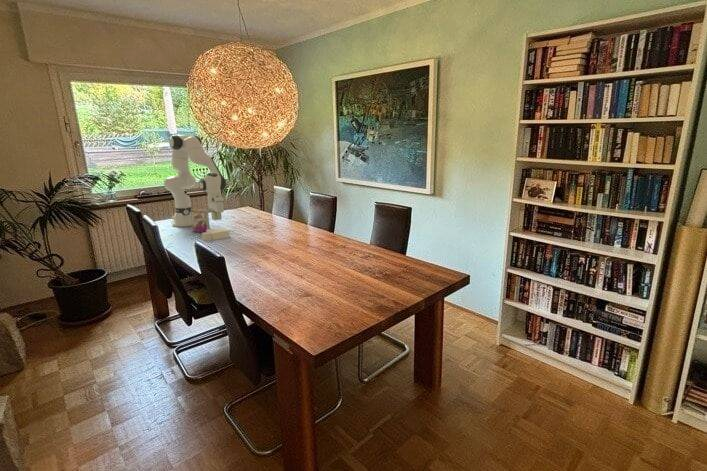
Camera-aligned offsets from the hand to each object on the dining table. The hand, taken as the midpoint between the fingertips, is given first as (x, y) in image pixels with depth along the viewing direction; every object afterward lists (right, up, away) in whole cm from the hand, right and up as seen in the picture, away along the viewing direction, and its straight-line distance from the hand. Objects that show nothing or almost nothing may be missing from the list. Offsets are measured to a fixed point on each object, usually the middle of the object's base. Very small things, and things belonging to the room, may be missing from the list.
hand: (216, 216), depth 250 cm
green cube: (0, -2, 0) cm, 2 cm away
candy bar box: (-17, -10, +15) cm, 25 cm away
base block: (0, -14, +4) cm, 15 cm away
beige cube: (-5, -16, -5) cm, 17 cm away
